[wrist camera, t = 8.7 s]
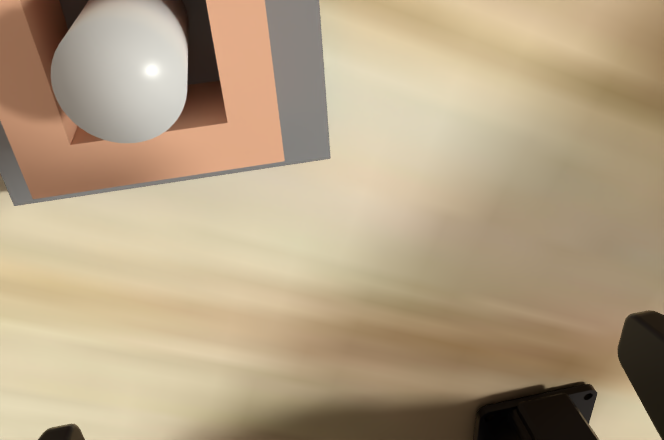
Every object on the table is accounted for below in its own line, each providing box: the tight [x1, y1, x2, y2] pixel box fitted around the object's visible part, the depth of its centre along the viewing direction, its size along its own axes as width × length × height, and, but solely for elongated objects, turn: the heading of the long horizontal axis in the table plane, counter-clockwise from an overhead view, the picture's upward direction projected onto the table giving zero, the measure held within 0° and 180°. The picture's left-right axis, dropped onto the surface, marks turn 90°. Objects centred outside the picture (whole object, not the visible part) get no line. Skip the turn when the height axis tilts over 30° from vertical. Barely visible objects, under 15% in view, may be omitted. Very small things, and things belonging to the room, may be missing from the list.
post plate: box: [0, 0, 330, 206], centre depth 14 cm, size 10×10×6 cm
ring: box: [0, 0, 285, 199], centre depth 15 cm, size 6×6×3 cm
